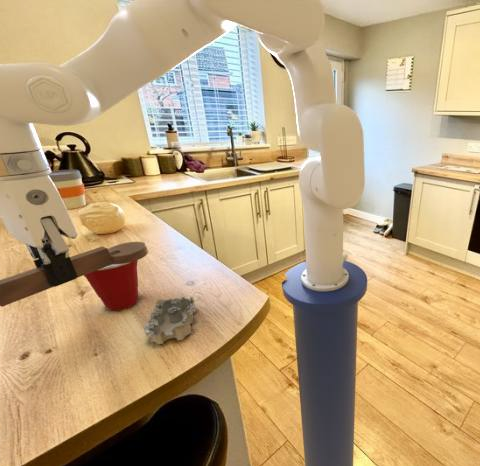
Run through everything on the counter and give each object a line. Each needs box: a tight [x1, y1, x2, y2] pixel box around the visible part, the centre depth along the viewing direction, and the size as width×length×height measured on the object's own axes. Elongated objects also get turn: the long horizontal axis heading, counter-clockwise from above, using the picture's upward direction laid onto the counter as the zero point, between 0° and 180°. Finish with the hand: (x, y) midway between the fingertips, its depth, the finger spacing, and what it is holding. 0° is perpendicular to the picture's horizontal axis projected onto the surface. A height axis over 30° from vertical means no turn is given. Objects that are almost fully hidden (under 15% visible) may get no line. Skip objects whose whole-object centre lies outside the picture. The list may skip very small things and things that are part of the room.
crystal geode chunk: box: [143, 296, 196, 345], centre depth 58 cm, size 11×8×4 cm
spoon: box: [0, 241, 149, 308], centre depth 48 cm, size 20×6×3 cm, turn 154°
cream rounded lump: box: [77, 201, 127, 235], centre depth 101 cm, size 12×12×11 cm
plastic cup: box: [83, 260, 139, 311], centre depth 63 cm, size 11×11×12 cm
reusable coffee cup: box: [47, 169, 87, 210], centre depth 126 cm, size 13×13×15 cm
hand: (60, 279), depth 46 cm, fingers closed on spoon
